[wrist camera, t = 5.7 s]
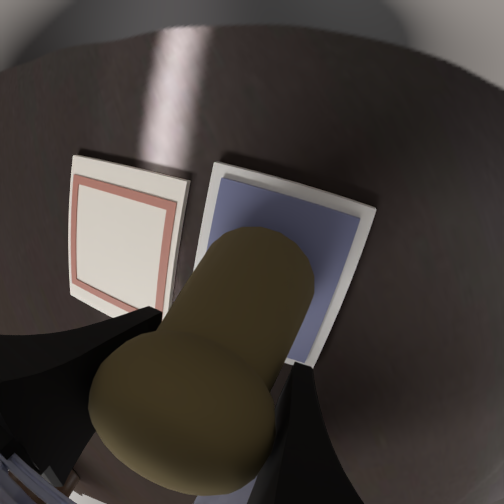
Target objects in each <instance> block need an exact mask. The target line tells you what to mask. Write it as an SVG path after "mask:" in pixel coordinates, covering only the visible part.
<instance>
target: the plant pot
mask: <svg viewBox="0 0 504 504" xmlns="http://www.w3.org/2000/svg"><path fill="white" fill-rule="evenodd" d="M8 472H9V473H8V475H9V476H10V477H11V478H12V479H13V480H14V481H15V482H16V483H17V484H18V485H19V486H20V487H21V488H22V489H23V490H24V492H25V493H26V494H27V495H28V496H29V497H30V498H31V499H32V500H33V501H34V502H35V503H36V504H46V503H45V502H44V501H43V500H41V499H40V498H39V497H38V496H37V495H35V494H34V493H33V492H32V491H31V490H30V489H29V488H27V487H26V486H25V485H24V484H23V483H22V482H21V481H20V480H19V479H18V478H16V477H15V476H14V475H13V474H12V473H11V472H10V471H8ZM36 473H37V472H36ZM42 478H43V477H42ZM78 482H79V477H78V475H77V474H76V473H75V471H74V470H73V469H72V470H71V472H70V474H69V476H68V478H67V480H66V482H65V484H64V486H62V487H55V488H56V489H57V490H59V491H60V492H61V493H63V494H64V495H65V496H67V497H68V498H69V496H70V494H71V493H72V491H73V490H74V488H75V486H76V485H77V483H78ZM48 483H49V482H48ZM53 487H54V486H53Z"/></svg>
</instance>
